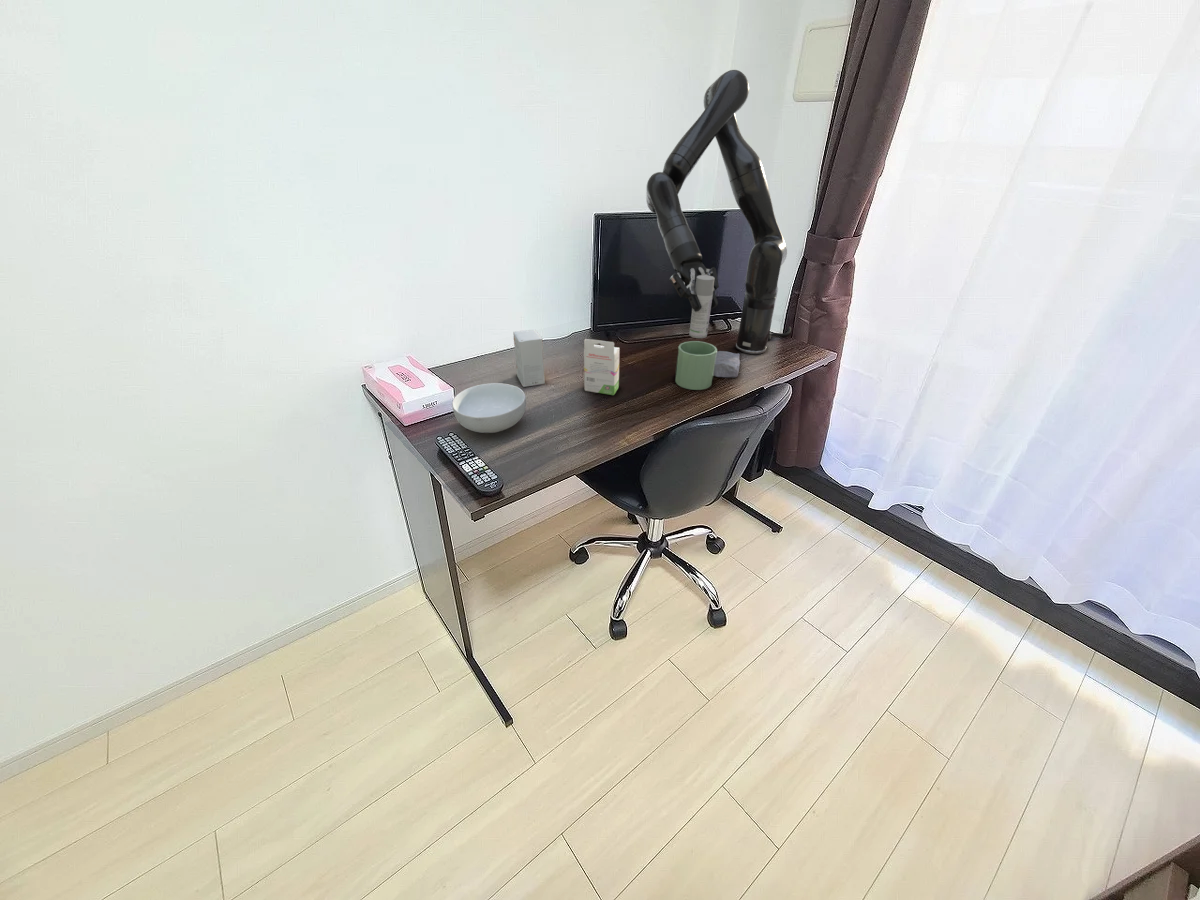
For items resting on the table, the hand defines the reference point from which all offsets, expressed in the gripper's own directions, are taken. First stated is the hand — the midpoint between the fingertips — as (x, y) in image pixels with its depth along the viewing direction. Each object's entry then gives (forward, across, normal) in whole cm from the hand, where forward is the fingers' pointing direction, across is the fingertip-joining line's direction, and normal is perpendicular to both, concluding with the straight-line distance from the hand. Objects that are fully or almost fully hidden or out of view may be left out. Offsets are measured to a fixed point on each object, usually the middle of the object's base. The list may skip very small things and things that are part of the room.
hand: (706, 308), depth 126 cm
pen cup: (+14, 0, -16) cm, 21 cm away
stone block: (+12, -13, -18) cm, 25 cm away
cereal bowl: (+11, +57, -20) cm, 61 cm away
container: (+4, 0, -7) cm, 8 cm away
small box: (-2, +39, -33) cm, 51 cm away
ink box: (+8, +25, -22) cm, 34 cm away
